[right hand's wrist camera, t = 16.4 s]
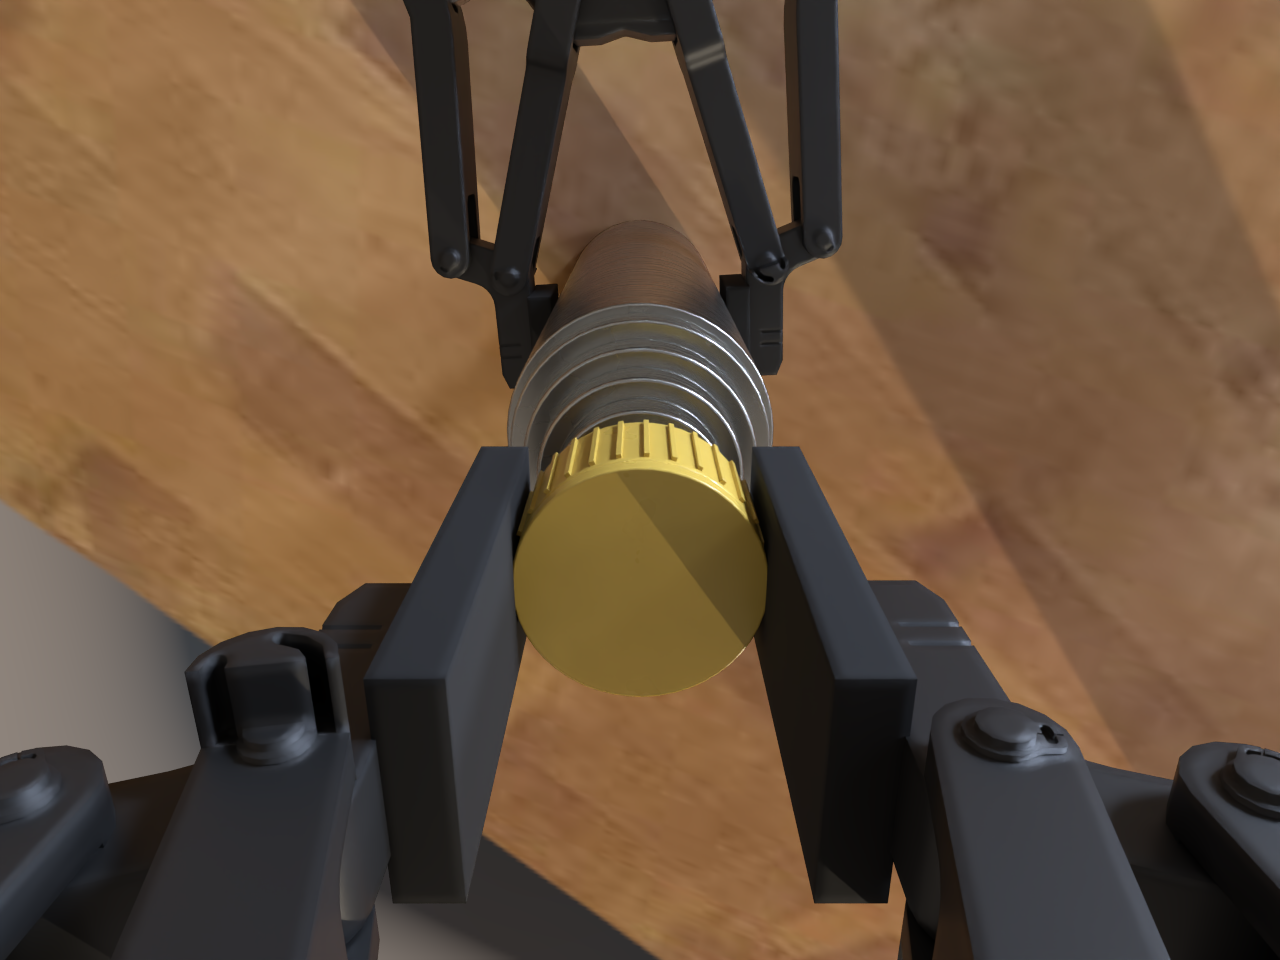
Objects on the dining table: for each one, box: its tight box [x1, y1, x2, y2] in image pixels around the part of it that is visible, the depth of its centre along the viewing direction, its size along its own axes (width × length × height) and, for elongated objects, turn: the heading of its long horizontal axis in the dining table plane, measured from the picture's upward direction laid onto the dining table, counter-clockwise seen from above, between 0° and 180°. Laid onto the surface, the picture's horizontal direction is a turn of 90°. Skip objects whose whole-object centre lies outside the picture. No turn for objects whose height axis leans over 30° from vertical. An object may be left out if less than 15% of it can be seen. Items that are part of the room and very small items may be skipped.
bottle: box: [507, 221, 773, 491], centre depth 25 cm, size 6×6×25 cm
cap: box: [513, 420, 768, 697], centre depth 14 cm, size 4×4×2 cm
